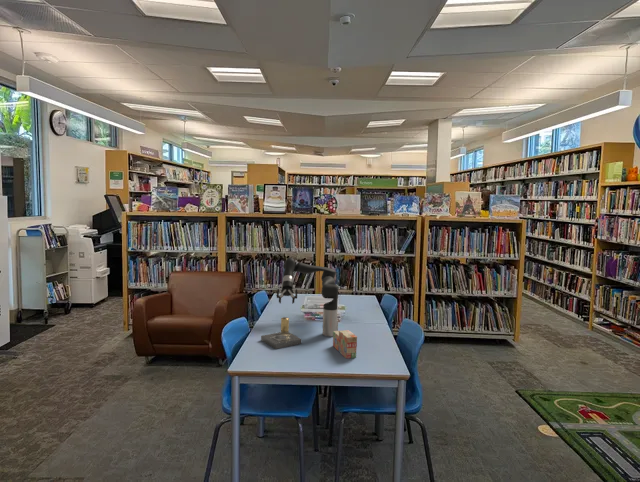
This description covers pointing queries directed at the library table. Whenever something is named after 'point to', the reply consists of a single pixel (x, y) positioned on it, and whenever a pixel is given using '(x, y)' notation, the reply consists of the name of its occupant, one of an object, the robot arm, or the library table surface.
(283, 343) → the plate
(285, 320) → the brass sleeve
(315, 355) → the library table surface
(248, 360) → the library table surface
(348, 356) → the stack of blocks
